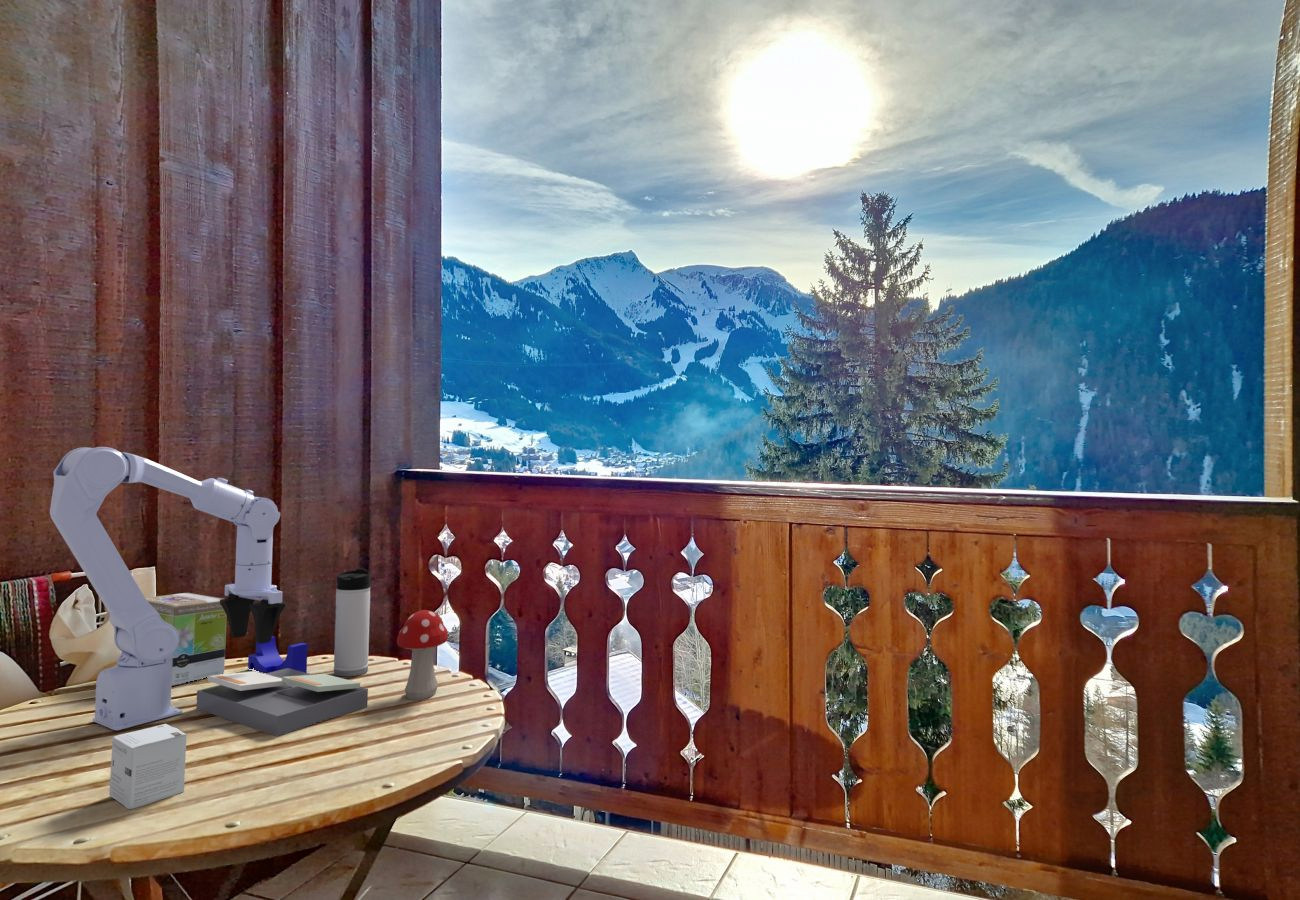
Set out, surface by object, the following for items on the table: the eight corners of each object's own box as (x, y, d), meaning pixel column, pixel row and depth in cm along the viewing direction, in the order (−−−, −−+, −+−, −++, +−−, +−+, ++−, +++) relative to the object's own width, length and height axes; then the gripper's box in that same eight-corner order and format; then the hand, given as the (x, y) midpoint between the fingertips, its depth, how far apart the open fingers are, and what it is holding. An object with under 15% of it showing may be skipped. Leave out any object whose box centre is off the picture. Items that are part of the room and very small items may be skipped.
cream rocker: (240, 690, 113) (241, 685, 113) (207, 680, 118) (208, 675, 118) (286, 684, 120) (287, 679, 120) (254, 675, 125) (254, 670, 125)
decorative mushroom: (431, 705, 121) (433, 617, 122) (384, 701, 123) (387, 614, 123) (455, 687, 131) (457, 606, 131) (412, 684, 132) (414, 604, 133)
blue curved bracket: (247, 670, 140) (248, 640, 140) (269, 665, 144) (270, 635, 144) (284, 680, 134) (285, 648, 134) (306, 674, 138) (307, 643, 138)
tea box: (226, 674, 137) (229, 598, 137) (170, 688, 128) (173, 606, 128) (185, 662, 144) (188, 590, 145) (129, 674, 136) (132, 597, 136)
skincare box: (108, 797, 86) (110, 736, 86) (164, 779, 91) (166, 721, 91) (128, 811, 83) (131, 747, 83) (186, 792, 88) (188, 732, 88)
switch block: (277, 736, 106) (277, 715, 106) (196, 708, 117) (197, 689, 117) (394, 697, 125) (394, 679, 125) (314, 677, 136) (315, 660, 136)
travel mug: (374, 668, 143) (377, 569, 143) (357, 677, 136) (361, 573, 137) (345, 666, 143) (348, 568, 144) (327, 676, 137) (330, 572, 137)
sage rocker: (317, 691, 113) (318, 686, 113) (281, 681, 117) (282, 676, 118) (359, 687, 119) (360, 682, 119) (323, 678, 124) (324, 673, 124)
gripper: (299, 564, 126) (297, 640, 126) (252, 558, 134) (250, 630, 133) (261, 568, 120) (258, 648, 120) (214, 562, 128) (211, 637, 127)
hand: (251, 639), depth 126 cm, fingers open, 7 cm apart
